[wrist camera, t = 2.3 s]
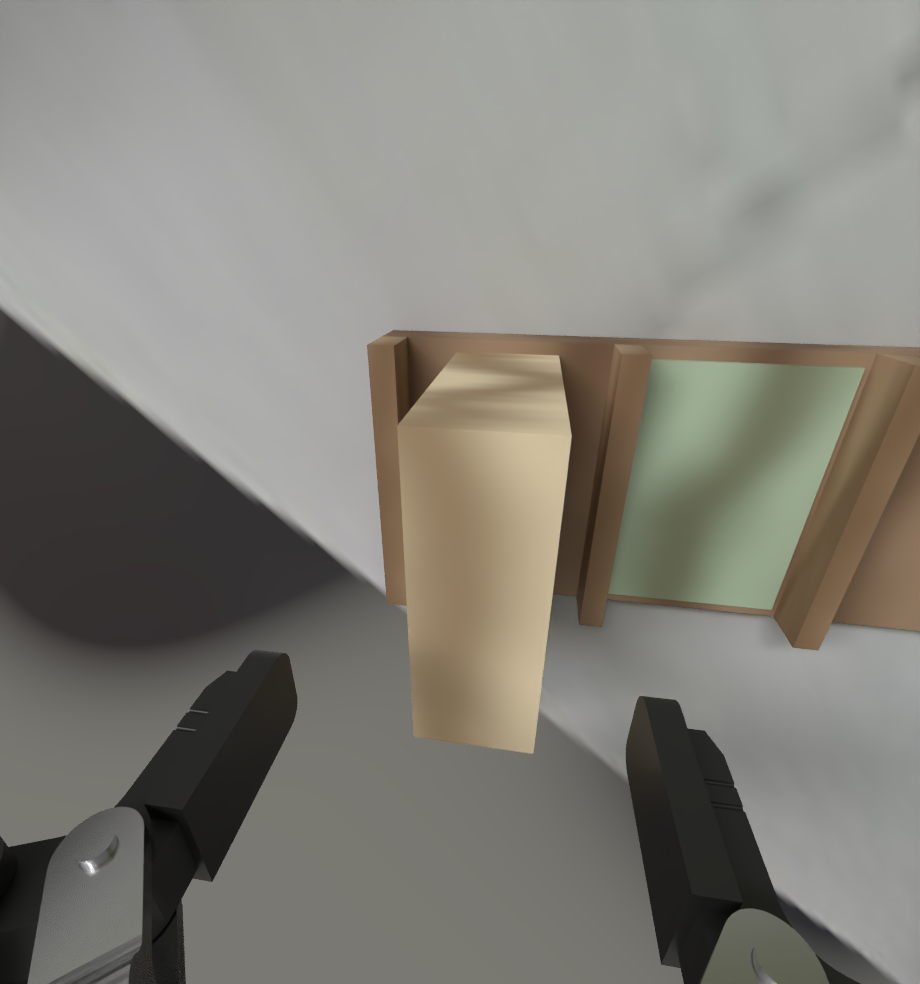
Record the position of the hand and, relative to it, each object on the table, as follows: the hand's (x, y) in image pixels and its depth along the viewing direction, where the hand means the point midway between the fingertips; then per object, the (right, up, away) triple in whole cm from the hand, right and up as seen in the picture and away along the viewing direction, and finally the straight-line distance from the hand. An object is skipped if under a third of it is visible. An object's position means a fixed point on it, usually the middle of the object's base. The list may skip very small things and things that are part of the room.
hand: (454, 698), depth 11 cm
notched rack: (+11, +5, +11) cm, 16 cm away
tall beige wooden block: (+2, +5, +10) cm, 12 cm away
